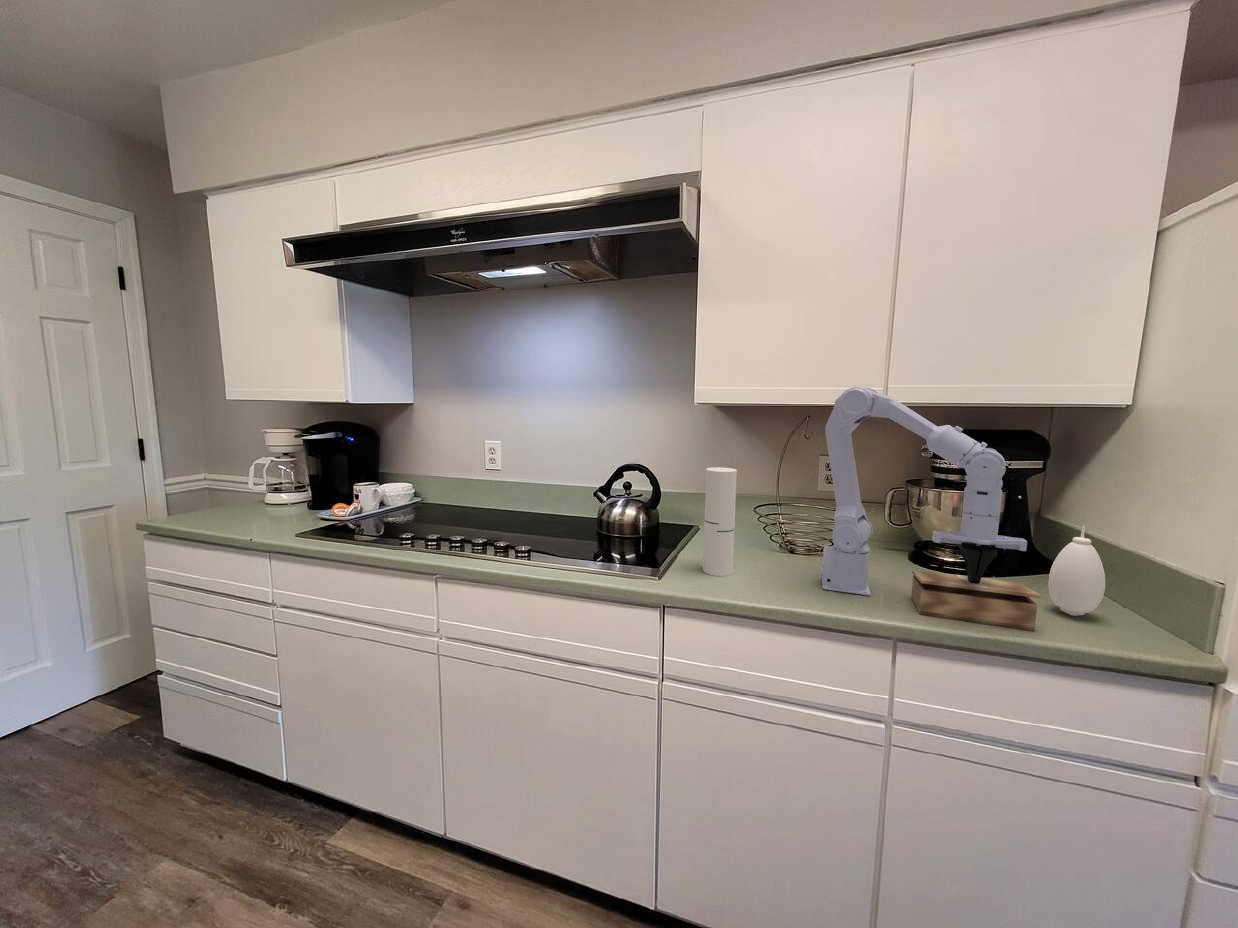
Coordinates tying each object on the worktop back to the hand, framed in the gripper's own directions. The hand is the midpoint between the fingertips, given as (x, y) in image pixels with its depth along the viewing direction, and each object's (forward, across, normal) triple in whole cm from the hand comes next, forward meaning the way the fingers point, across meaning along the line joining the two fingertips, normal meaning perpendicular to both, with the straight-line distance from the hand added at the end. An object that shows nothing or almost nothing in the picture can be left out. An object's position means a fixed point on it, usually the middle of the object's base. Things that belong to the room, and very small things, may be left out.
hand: (973, 581), depth 93 cm
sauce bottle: (+7, +19, +8) cm, 22 cm away
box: (+7, 0, +1) cm, 7 cm away
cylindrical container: (+7, -50, +6) cm, 51 cm away
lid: (+1, 0, +1) cm, 2 cm away
